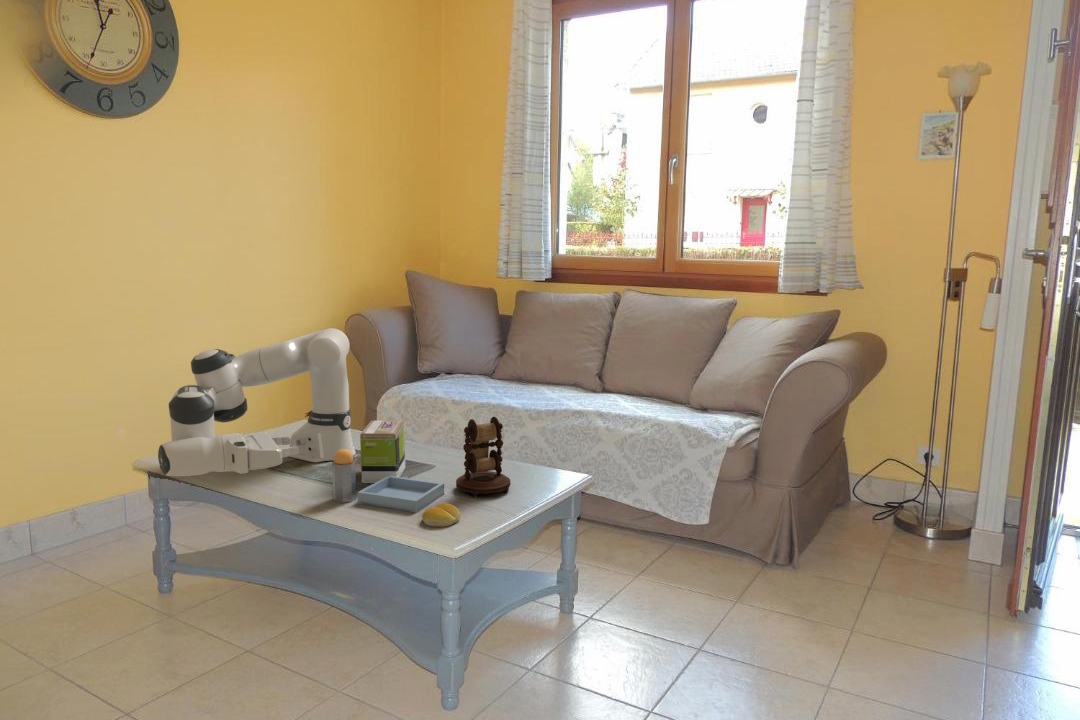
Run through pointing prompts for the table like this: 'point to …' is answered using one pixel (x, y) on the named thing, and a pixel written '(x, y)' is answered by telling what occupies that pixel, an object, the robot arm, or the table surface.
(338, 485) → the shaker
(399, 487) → the tray
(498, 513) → the table surface
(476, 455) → the wooden spool stand
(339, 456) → the ball
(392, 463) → the tea box
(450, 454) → the table surface
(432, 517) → the bread roll
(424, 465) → the table surface
